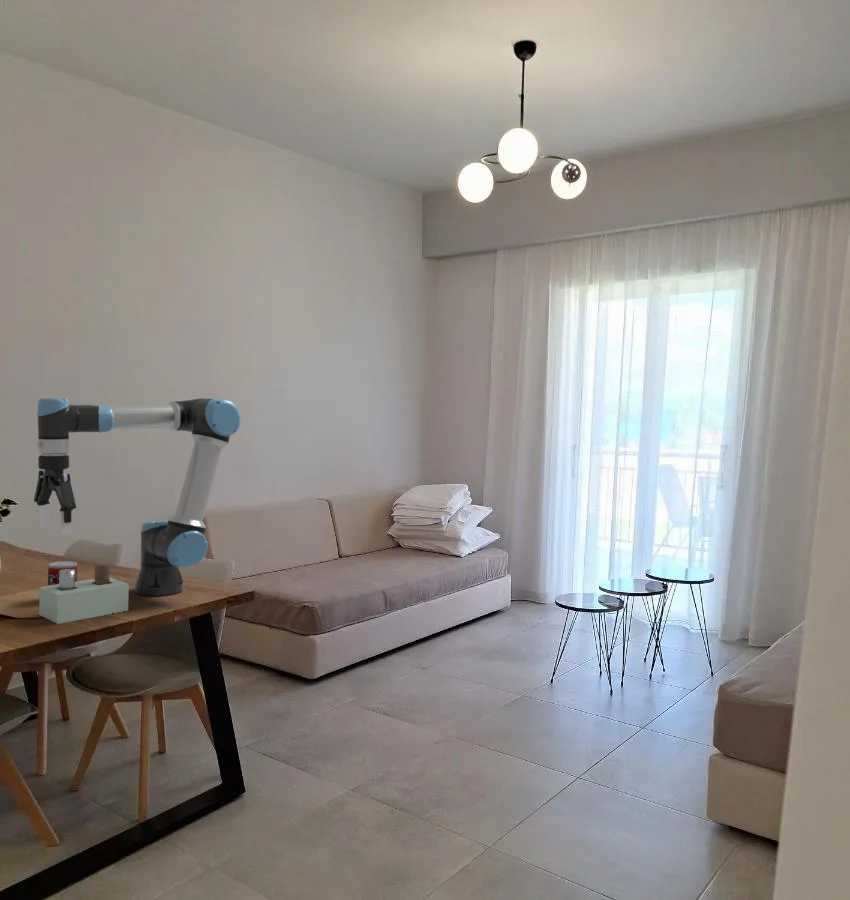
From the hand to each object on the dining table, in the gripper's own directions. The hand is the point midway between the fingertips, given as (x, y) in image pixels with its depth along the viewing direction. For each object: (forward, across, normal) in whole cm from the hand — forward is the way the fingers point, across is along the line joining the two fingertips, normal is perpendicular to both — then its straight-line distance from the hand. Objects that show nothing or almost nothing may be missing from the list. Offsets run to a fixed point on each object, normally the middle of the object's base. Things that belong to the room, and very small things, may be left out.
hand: (54, 531), depth 201 cm
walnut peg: (+20, -1, +14) cm, 24 cm away
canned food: (+25, -20, +11) cm, 34 cm away
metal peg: (+20, -1, +4) cm, 20 cm away
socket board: (+25, -1, +8) cm, 26 cm away
